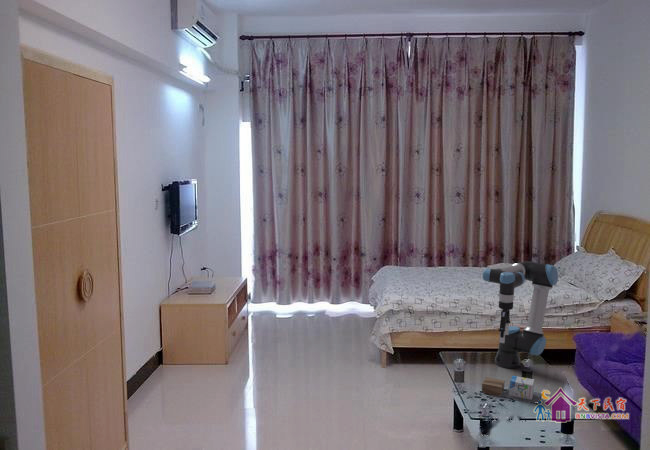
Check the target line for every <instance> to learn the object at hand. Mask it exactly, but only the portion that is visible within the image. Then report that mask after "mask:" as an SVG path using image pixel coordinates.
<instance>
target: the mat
mask: <svg viewBox="0 0 650 450" xmlns="http://www.w3.org/2000/svg"><path fill="white" fill-rule="evenodd" d="M509 392H510V386H508V387H507V391H506V393H505V394H504V395H503V398H507V399H509V400H511V399H512V400H516V401H521V402H524V401H525V402H526V403H529V402H533V403H532V404H534V403H535V402H540V400H539V399H541V397H542V393H541V392H537V391H534V393H533V398H532V400H530V399H525V398H519V397H514V396H509Z"/></svg>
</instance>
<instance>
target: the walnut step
mask: <svg viewBox="0 0 650 450" xmlns="http://www.w3.org/2000/svg"><path fill="white" fill-rule="evenodd" d="M504 391H505V380H503V379H498V378H492V377H487V376H486V377H485V378H484V380H483V381H482V383H481V393H484V394H488V395H493V396H497V397H502V395H503V392H504Z"/></svg>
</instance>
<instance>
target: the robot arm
mask: <svg viewBox="0 0 650 450" xmlns="http://www.w3.org/2000/svg"><path fill="white" fill-rule="evenodd" d="M482 279H483V281H485V282H488V283H493V284H498V285H499V291H498V294H497V296H498V300H499V301H498V308H499V309H501V312H500V323H499V329H498V332H499V334H498V335H499V336H498V337H499V338H498V349H497V353H496V355H495V357H494V363H495V365H497V366H499V367H501V368H506V369H517V368H516V367H518V366H519V365H520V366H521V364H520V363H522V361H521V358H520V355H519V352H522V353H525V354H529V355H532V356H539V355H541V354H542V353H543V351H544V350H545V349H546V348H545V347H546V345H547V338H546V337H545V336H544V334H545V333H544V331H543V325H544V320H545V316H546V315H545V313H546V308H547V303H548V299H549V292H550V291H551V290H552V289H553V286H556V285H557V283H558V281H559V280H558V279H559V273H558V269H557V267H556V266H554V265H552V264H549V263H542V262H541V263H540V262H537V261H536V262H534V261H521V262H520V261H519V262H517V263H513V264H512V265H509V266H504V267H499V268H489V267H488V268H484V270H483V271H482ZM525 281H530V282H532V283H531V285H532V286H533V291H532V297H531V301H530V307H529V313H528V317H527V322H526V327H524V328H522V329H523V330H522V331H521V328H520V327H518V326H515V325H510V324H511V319H510V317H511V316H510V315H511V313H510V310H513V308H514V300H515V299H514V298H515V288H518V287H521V286H522V285H523V284H525ZM518 368H519V367H518Z"/></svg>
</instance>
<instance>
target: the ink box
mask: <svg viewBox="0 0 650 450" xmlns="http://www.w3.org/2000/svg"><path fill="white" fill-rule="evenodd" d="M509 387H510V392H509V396H514V397H519V398H525V399H530V400H532V398H533V393H534V392H535V379H534V378H528V377H522V376H517V375H512V376H511V378H510V382H509Z"/></svg>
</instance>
